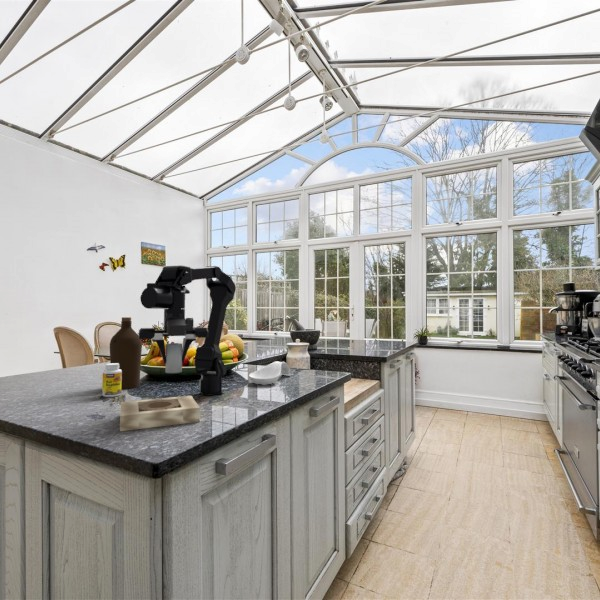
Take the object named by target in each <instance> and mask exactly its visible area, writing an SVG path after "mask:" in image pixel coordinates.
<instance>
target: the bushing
mask: <svg viewBox="0 0 600 600" xmlns="http://www.w3.org/2000/svg"><path fill="white" fill-rule="evenodd" d="M182 347H183V343H179V342H177V343H176V342H171V343H170V342H169V343H165V355H166V364H165V371H164V372H165V373H166V374H179V373H182V372H183V363H182Z"/></svg>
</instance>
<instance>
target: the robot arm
mask: <svg viewBox="0 0 600 600" xmlns="http://www.w3.org/2000/svg"><path fill="white" fill-rule="evenodd" d="M204 279H205V281H206V287H207V288H208V289H209V297H210V299H211V302H212V305H211V310H210V314H209V318H208V324H207V327H204V326H202V327H201V326H200V327H199V326H197V327H195V326H194V317H186V315H185V314H186V295H187V294H190V293H191V291H190V290H189V289H188V288H187V287H186V285H188V284H190V283H192V282H193V281H195V280H204ZM214 279H216V280H214ZM236 288H237V286H236V284H235V282H234V281H233V279H232V278H231V276H229V275H228V274H227V273H225V272H224V271H222V269H221V267H220V266H217V265H212V266H211V265H210V266H205V267H191V266H188V265H183V264H182V265H180V264H179V265H166V266H164V267H162V270H161V272H160V273H159V275H158V277H157V279H156V280H155V282H150V283H149V282H148V283H146V288H144V289H143V290H142V292H141V295H140V297H139V298H140V304H141V305H142V307H144V308H145V309H151V310H152V309H153V310H154V309H156V310H157V309H161V310H162V309H163V329H157V330H156V329H155V328H154V327H141V328H140V329H138V335H139V339H141V340H151V341H152V342H153V343H156V344H157V347H158V349H159V352H160V355H161V358H162V362H163V364H165V365H166V345H165V339H164V337H183V336H184V337H183V338H182V339H183V340H182V364H183V363H184V362H185V359H186V357H187V353H188V351H189V348H190V346H191V344H192V343H193V342H195V341H196V342H197V338H200V339H203V338H204V343H203V344H202V345H201V346H197V347H196V349H195V355H194V357H193V360H194V362H193V364H194V367H195V372H196V376H197V375H198V376H201V377H200V379H199V380H198V381H199V382H198V384H199V385H198V386H199V388H198V389H199V392H200V394H201V395H202V396H203V397H204V396H214V395H215V396H216V395H222V394H224V392H223V391H222V389H223V388H222V383H223V381H222V380H223V379H222V378H223V377H224V376H225V375H226V374H227V371H228V368H227V366H226V365H225V363H224V362H223V360H222V359H223V353H222V351H221V348H220V343H221V337H222V332H223V328H224V322H225V318H226V317H225V316H226V312H227V309H228V308H227V307H228V305H229V304H231V302H232V301H233V300H234V296H235V293H236V290H237V289H236ZM196 337H197V338H196Z"/></svg>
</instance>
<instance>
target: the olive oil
mask: <svg viewBox="0 0 600 600" xmlns="http://www.w3.org/2000/svg"><path fill="white" fill-rule="evenodd" d="M120 324H121V325H120V329H118V331H117V332H115V334H114V335H113V336H112V337H111V338H110V342H109V364H110V363H119V369H121V370H122V385H121V390H130V389H129V388H131V389H134V388H138V387H140V385H141V384H140V382H141V364H142V351H143V350H142V348H143V341H142V339H139V333H137V332H136V331H135V330H134V329H133V328H132V317H127V316H126V317H125V316H124V317H121V323H120Z"/></svg>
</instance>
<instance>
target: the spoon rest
mask: <svg viewBox="0 0 600 600" xmlns="http://www.w3.org/2000/svg"><path fill="white" fill-rule="evenodd" d="M281 373H282V374H291V373H292V372H291V369H290V366H289V364H288V363H287V362H285V361H278V360H276V361H273V362H272V363H269V364H267V365H265V366H264V367H262V368H259V369H258V370H255V371H252V372H251V373H249V375H248V378H249V380H250V381H251V382H253V383H254V384H255V385H258V384H271V385H273V384H274V383H276V382H277V381H278V380H279V379H280V376H281ZM291 375H292V374H291ZM272 383H273V384H272Z"/></svg>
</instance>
